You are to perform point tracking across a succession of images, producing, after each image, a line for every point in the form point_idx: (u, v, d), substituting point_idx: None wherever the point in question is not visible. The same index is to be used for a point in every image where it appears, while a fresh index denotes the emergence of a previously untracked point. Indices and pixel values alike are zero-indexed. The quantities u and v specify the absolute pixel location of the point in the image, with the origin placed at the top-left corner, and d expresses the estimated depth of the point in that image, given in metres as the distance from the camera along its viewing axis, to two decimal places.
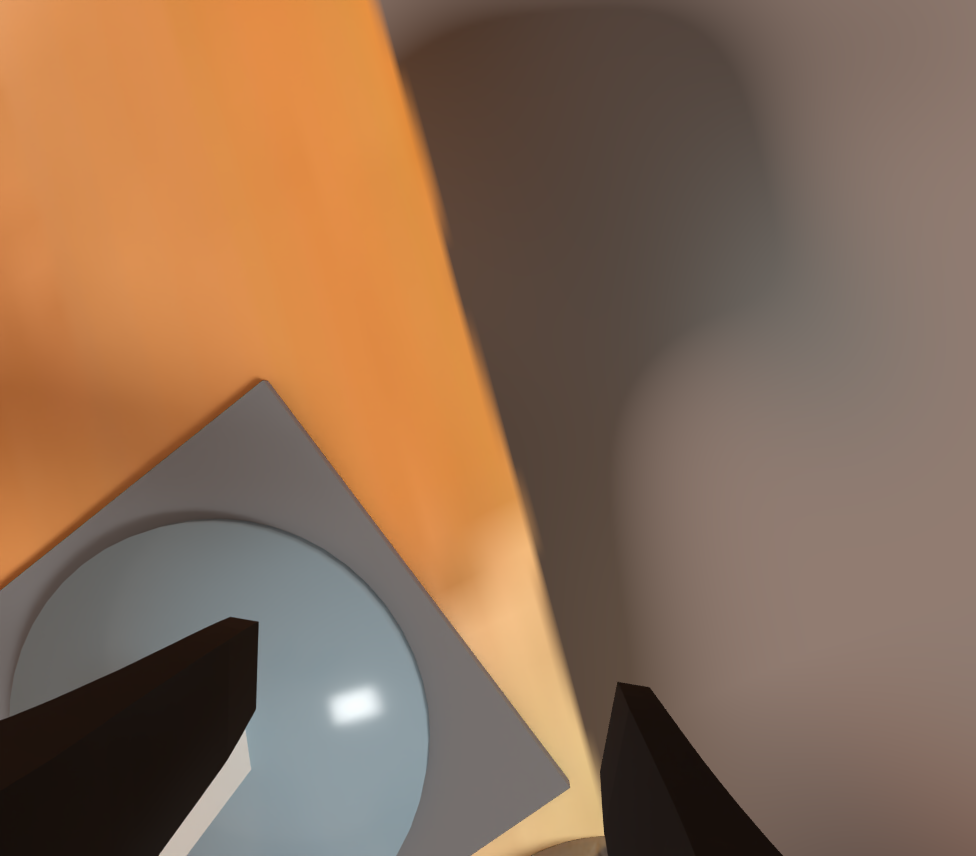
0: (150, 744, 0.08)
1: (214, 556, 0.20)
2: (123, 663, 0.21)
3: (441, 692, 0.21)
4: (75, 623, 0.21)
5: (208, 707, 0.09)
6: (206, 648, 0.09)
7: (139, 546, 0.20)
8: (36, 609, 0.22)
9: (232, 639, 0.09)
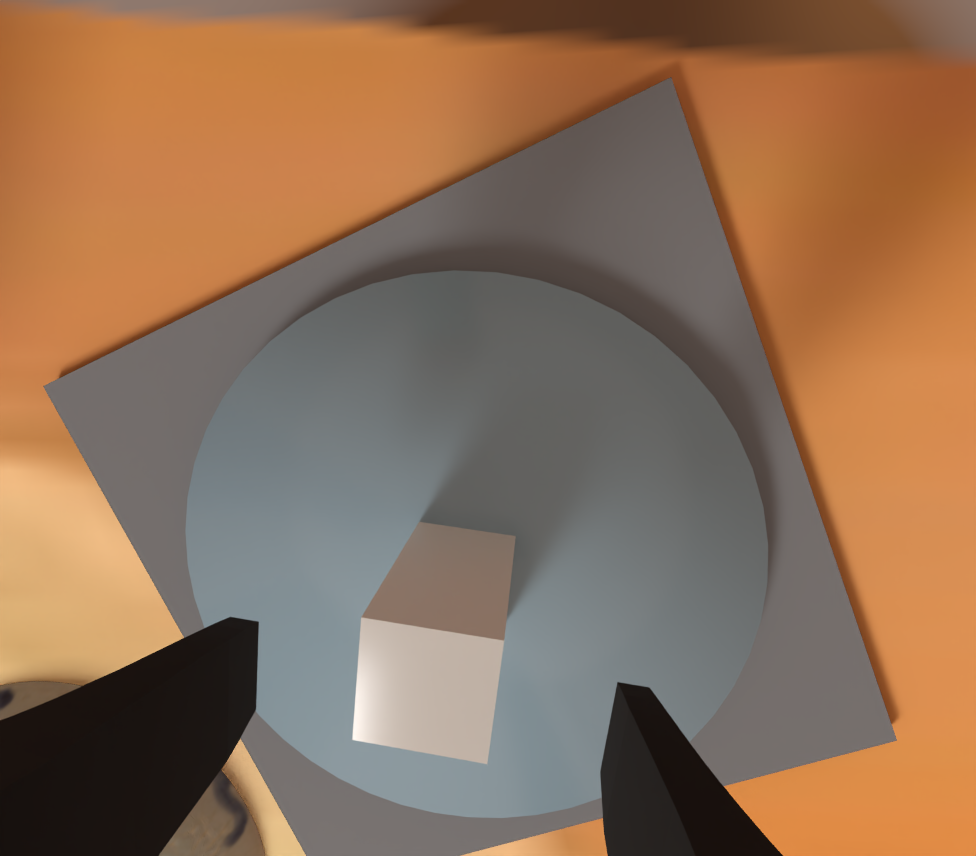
0: (150, 744, 0.08)
1: (701, 648, 0.15)
2: (591, 485, 0.14)
3: None
4: (669, 432, 0.14)
5: (208, 707, 0.09)
6: (206, 648, 0.09)
7: (750, 557, 0.14)
8: (697, 344, 0.14)
9: (232, 639, 0.09)
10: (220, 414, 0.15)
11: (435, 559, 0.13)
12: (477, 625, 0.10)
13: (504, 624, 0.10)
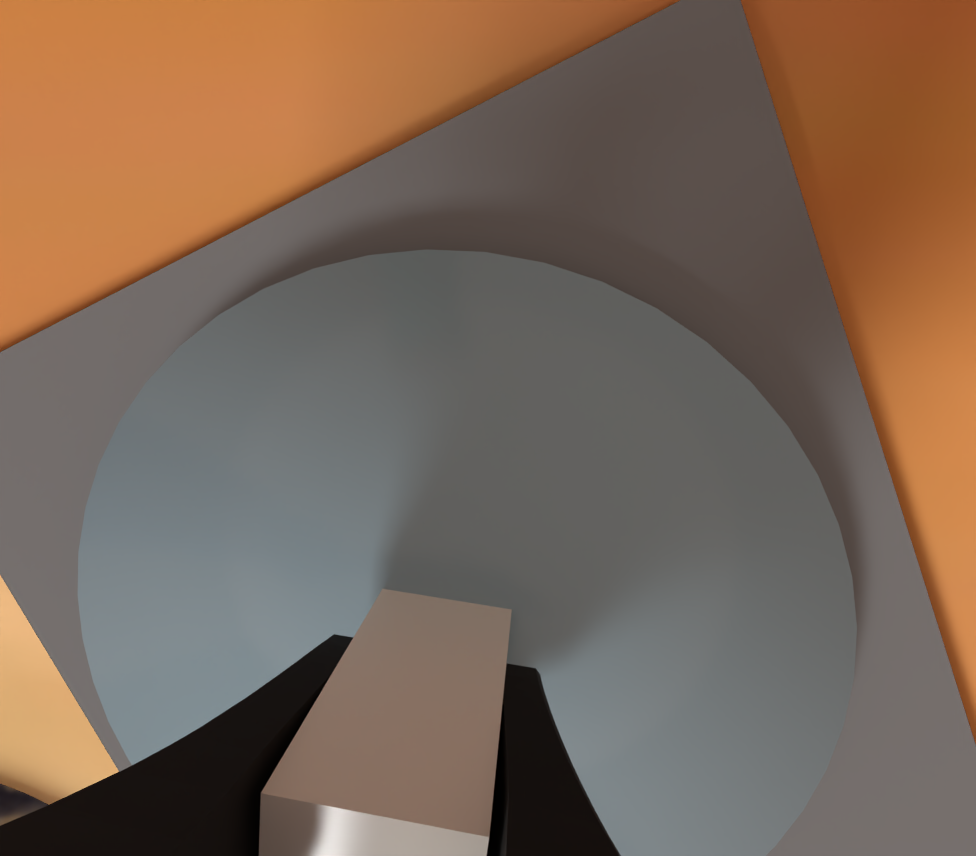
0: None
1: (760, 759, 0.11)
2: (614, 543, 0.10)
3: None
4: (723, 474, 0.10)
5: None
6: (327, 669, 0.09)
7: (831, 643, 0.10)
8: (760, 351, 0.10)
9: None
10: (116, 444, 0.11)
11: (397, 657, 0.09)
12: (447, 800, 0.07)
13: (490, 796, 0.07)
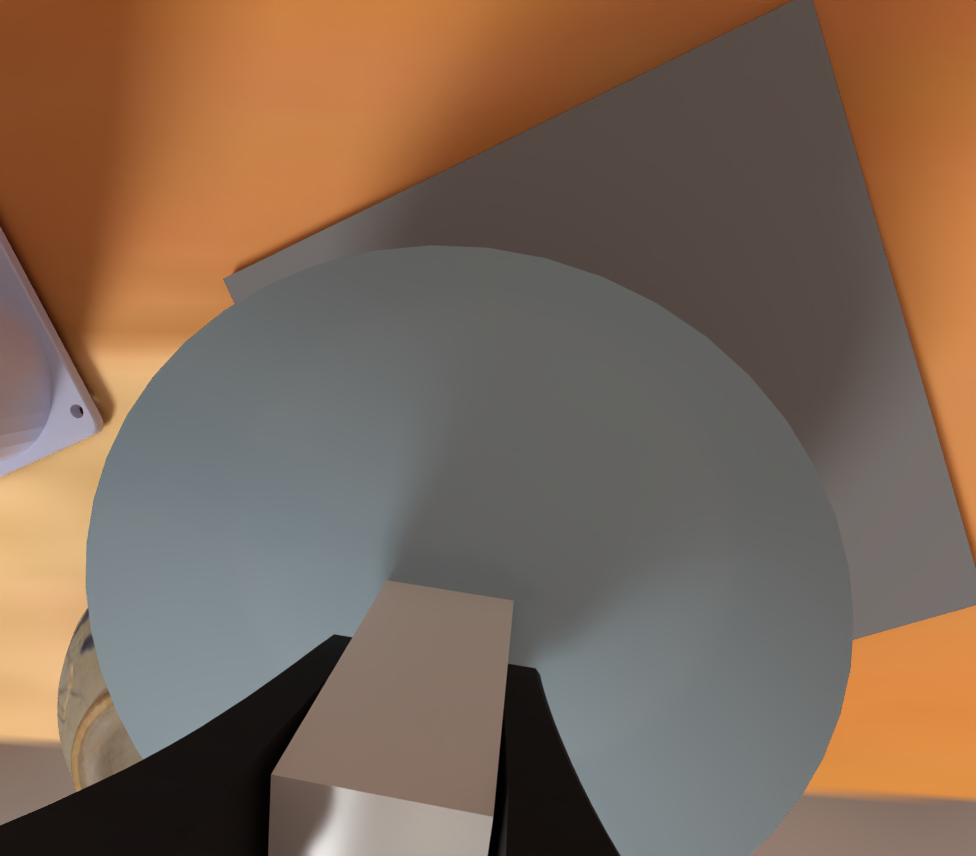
0: None
1: (758, 748, 0.11)
2: (615, 536, 0.11)
3: None
4: (722, 467, 0.10)
5: None
6: (327, 669, 0.09)
7: (828, 633, 0.11)
8: (820, 234, 0.16)
9: None
10: (124, 437, 0.11)
11: (401, 646, 0.09)
12: (452, 782, 0.07)
13: (494, 778, 0.07)
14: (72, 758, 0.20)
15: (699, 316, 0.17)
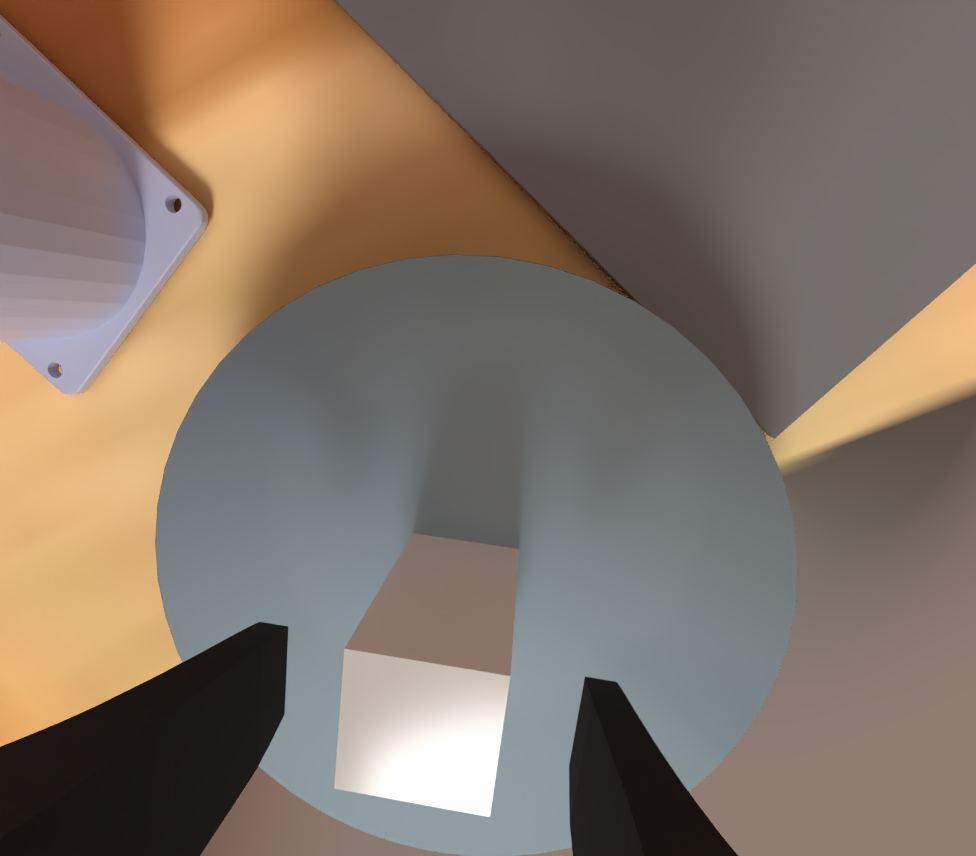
0: (189, 751, 0.08)
1: (723, 672, 0.14)
2: (602, 493, 0.13)
3: (901, 242, 0.14)
4: (689, 435, 0.12)
5: (242, 713, 0.09)
6: (240, 654, 0.09)
7: (777, 572, 0.13)
8: None
9: (265, 644, 0.09)
10: (193, 414, 0.14)
11: (431, 576, 0.11)
12: (479, 657, 0.09)
13: (510, 655, 0.09)
14: None
15: None
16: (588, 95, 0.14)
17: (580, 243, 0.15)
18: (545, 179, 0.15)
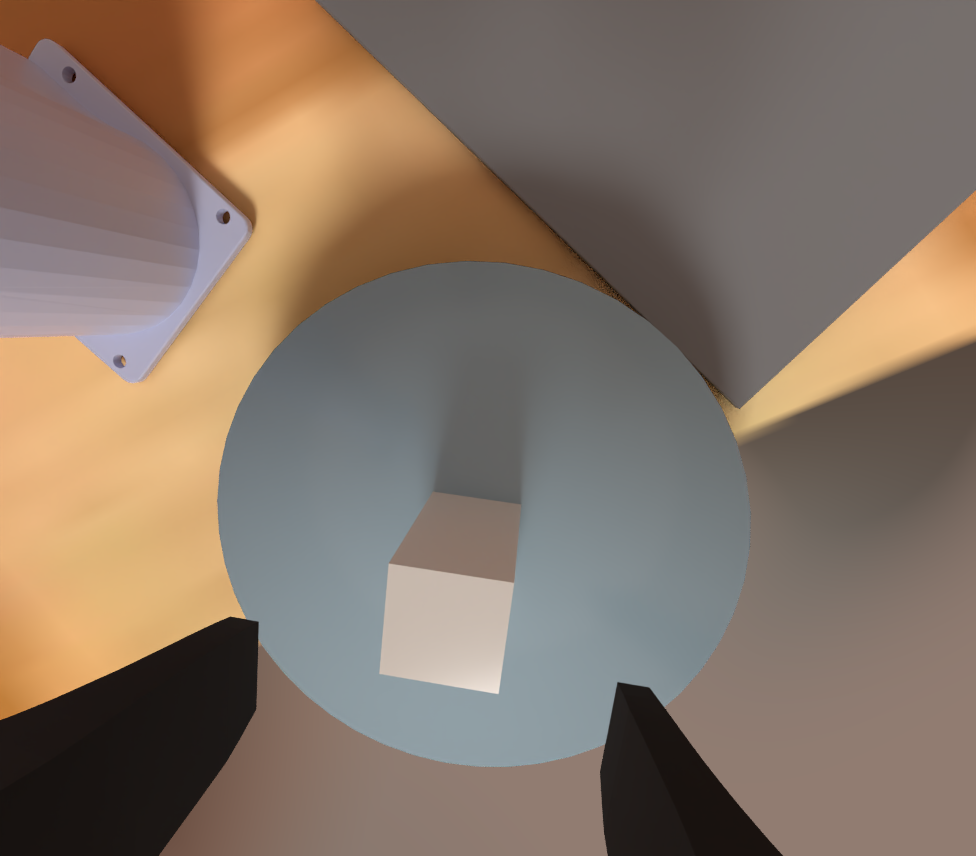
0: (150, 744, 0.08)
1: (690, 606, 0.16)
2: (589, 457, 0.16)
3: (841, 239, 0.17)
4: (661, 408, 0.15)
5: (208, 707, 0.09)
6: (206, 648, 0.09)
7: (734, 522, 0.16)
8: None
9: (232, 639, 0.09)
10: (251, 393, 0.16)
11: (450, 521, 0.14)
12: (490, 571, 0.12)
13: (513, 571, 0.12)
14: None
15: None
16: (575, 120, 0.17)
17: (571, 245, 0.18)
18: (540, 191, 0.18)
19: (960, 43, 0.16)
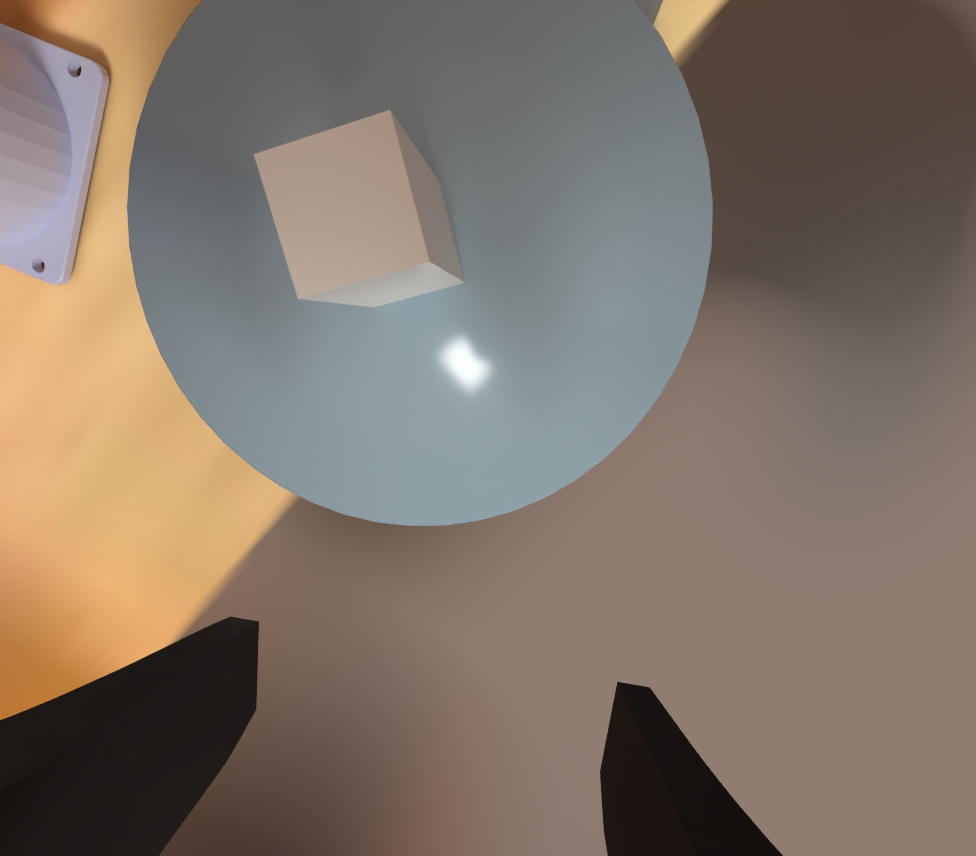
0: (150, 744, 0.08)
1: (662, 218, 0.14)
2: (488, 93, 0.14)
3: None
4: (538, 1, 0.13)
5: (208, 707, 0.09)
6: (206, 648, 0.09)
7: (669, 95, 0.14)
8: None
9: (232, 639, 0.09)
10: (133, 185, 0.15)
11: None
12: (368, 126, 0.10)
13: (396, 121, 0.10)
14: None
15: None
16: None
17: None
18: None
19: None
